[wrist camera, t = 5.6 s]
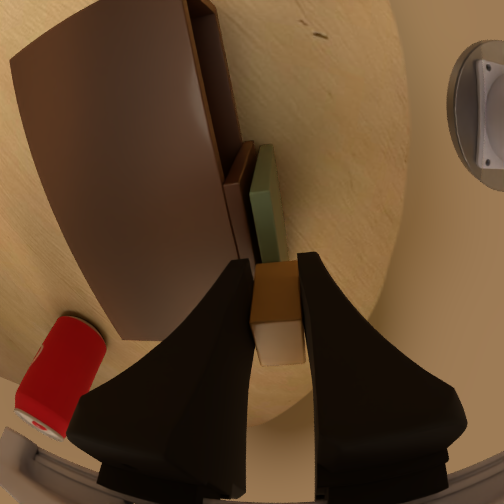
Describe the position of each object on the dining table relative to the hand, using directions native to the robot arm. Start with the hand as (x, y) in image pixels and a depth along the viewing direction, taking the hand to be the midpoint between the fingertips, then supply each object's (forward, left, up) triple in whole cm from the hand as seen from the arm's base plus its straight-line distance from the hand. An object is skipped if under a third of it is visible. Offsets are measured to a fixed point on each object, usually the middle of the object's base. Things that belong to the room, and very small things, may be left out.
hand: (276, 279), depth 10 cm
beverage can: (+22, +12, -8) cm, 26 cm away
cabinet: (+6, -3, -8) cm, 10 cm away
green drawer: (0, +1, -8) cm, 8 cm away
